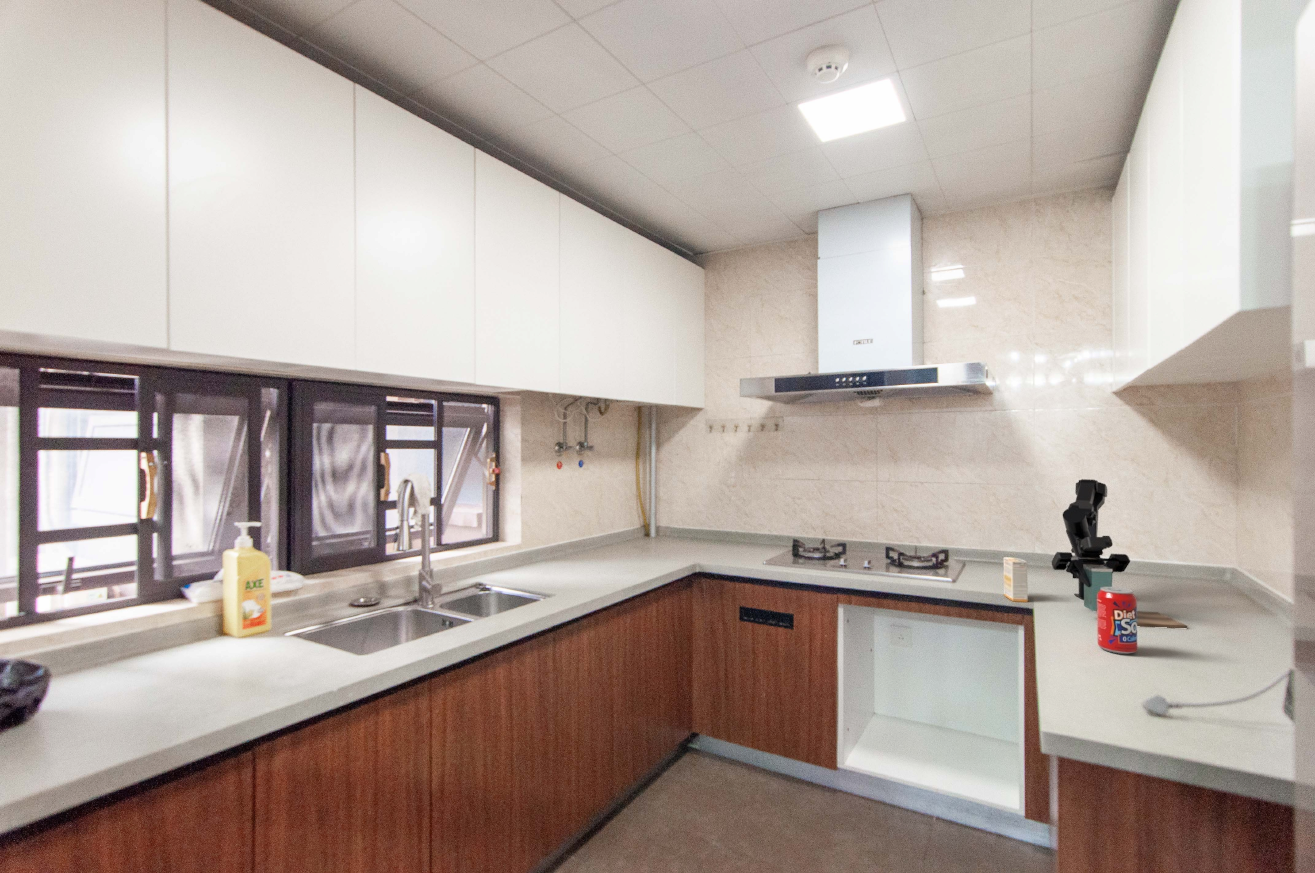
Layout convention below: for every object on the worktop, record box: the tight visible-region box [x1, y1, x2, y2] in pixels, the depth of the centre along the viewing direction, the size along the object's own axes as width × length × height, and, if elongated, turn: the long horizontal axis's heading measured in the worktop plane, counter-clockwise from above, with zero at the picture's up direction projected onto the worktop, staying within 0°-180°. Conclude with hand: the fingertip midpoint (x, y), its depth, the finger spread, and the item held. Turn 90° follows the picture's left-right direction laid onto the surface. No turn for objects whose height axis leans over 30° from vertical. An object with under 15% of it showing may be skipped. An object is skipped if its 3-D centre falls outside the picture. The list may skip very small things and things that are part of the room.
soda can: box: [1096, 586, 1138, 655], centre depth 152 cm, size 8×8×15 cm
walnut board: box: [1137, 610, 1188, 629], centre depth 178 cm, size 14×14×2 cm
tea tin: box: [1083, 565, 1113, 612], centre depth 177 cm, size 5×5×12 cm
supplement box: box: [1003, 556, 1029, 603], centre depth 203 cm, size 8×5×13 cm, turn 168°
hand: (1100, 586), depth 176 cm, fingers closed on tea tin, 5 cm apart
